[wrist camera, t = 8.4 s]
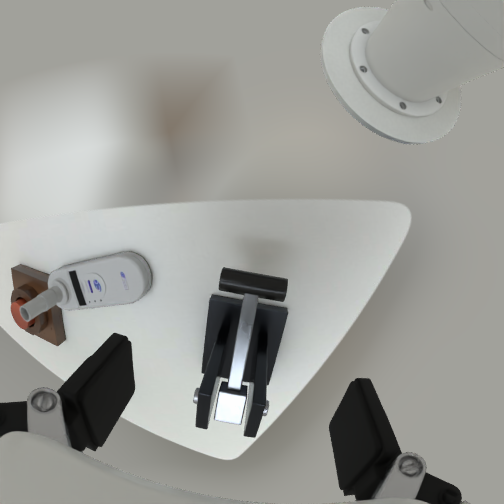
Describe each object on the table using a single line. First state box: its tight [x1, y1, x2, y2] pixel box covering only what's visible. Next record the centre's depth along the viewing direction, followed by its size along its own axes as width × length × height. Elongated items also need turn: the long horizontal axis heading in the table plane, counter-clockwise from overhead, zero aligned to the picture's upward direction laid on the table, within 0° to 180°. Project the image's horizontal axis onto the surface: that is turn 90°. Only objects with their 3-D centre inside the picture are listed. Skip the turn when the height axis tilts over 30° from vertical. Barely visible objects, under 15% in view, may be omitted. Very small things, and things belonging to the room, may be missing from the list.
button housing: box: [11, 264, 66, 346], centre depth 29 cm, size 10×9×4 cm
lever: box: [214, 267, 288, 425], centre depth 20 cm, size 12×5×2 cm, turn 170°
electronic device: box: [20, 252, 152, 322], centre depth 24 cm, size 5×10×15 cm
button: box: [11, 298, 35, 329], centre depth 27 cm, size 4×4×2 cm
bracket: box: [193, 294, 288, 438], centre depth 24 cm, size 10×8×12 cm
